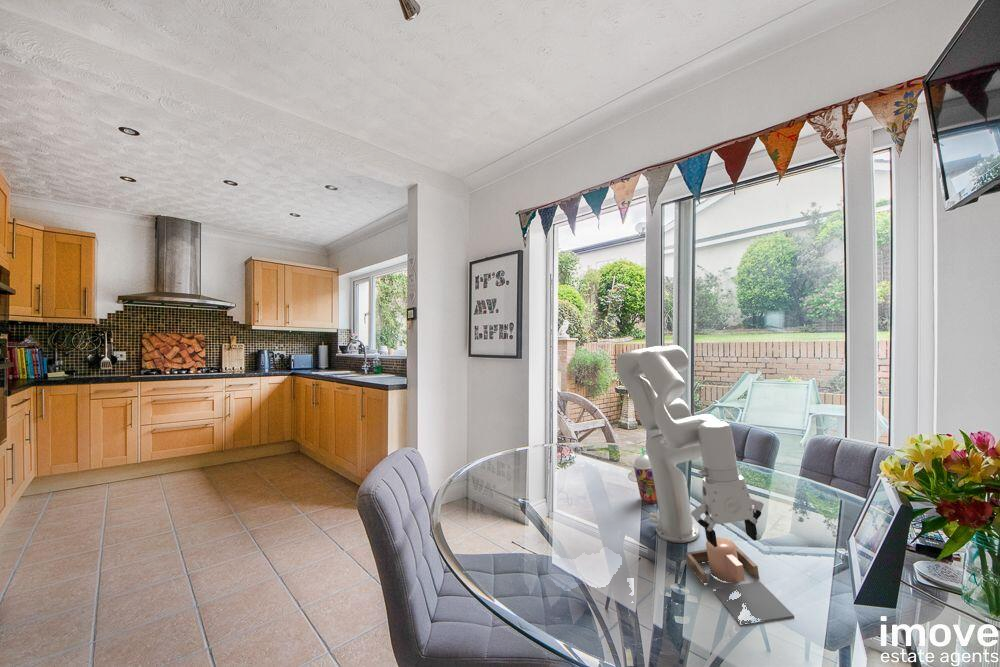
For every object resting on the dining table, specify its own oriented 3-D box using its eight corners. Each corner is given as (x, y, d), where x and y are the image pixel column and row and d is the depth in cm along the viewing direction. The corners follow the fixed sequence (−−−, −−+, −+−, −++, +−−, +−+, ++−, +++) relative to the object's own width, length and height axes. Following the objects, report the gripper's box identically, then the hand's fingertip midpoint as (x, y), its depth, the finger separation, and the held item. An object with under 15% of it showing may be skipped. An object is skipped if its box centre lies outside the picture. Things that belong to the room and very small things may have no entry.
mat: (712, 590, 103) (712, 589, 103) (760, 583, 103) (759, 581, 103) (740, 625, 92) (740, 624, 91) (794, 617, 91) (794, 615, 91)
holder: (687, 563, 116) (685, 552, 115) (736, 555, 115) (735, 544, 115) (704, 586, 106) (702, 574, 105) (759, 577, 105) (757, 565, 105)
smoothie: (650, 507, 150) (641, 453, 149) (634, 499, 157) (626, 448, 157) (667, 500, 153) (659, 447, 152) (650, 493, 161) (642, 442, 160)
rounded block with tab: (705, 568, 112) (700, 539, 112) (730, 564, 112) (726, 535, 112) (729, 598, 100) (724, 566, 100) (758, 593, 100) (753, 561, 100)
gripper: (693, 483, 98) (705, 554, 98) (765, 472, 98) (777, 543, 98) (679, 472, 105) (690, 538, 106) (747, 461, 105) (757, 528, 105)
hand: (732, 540), depth 102 cm, fingers open, 9 cm apart
